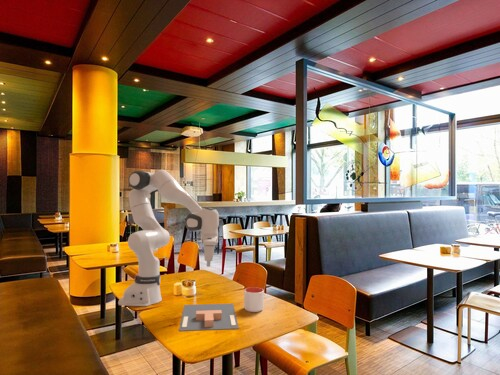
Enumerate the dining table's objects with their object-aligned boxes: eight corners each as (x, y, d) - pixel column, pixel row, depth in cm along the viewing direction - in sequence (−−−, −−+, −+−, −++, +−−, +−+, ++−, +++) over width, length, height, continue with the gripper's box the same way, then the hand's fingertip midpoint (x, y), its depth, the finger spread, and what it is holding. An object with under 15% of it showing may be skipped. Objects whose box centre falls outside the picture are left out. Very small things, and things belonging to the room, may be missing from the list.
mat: (178, 331, 138) (178, 329, 138) (184, 305, 170) (184, 304, 170) (238, 328, 142) (238, 327, 142) (233, 303, 173) (233, 302, 173)
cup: (261, 313, 160) (262, 293, 160) (242, 312, 162) (242, 292, 162) (264, 306, 170) (265, 288, 170) (246, 305, 172) (246, 286, 172)
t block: (195, 327, 142) (195, 320, 142) (196, 317, 154) (196, 310, 154) (222, 326, 143) (222, 319, 143) (221, 316, 155) (221, 310, 155)
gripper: (203, 235, 174) (202, 261, 174) (202, 242, 154) (201, 271, 154) (215, 236, 175) (214, 261, 175) (215, 242, 155) (214, 271, 155)
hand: (208, 266), depth 164 cm, fingers closed
